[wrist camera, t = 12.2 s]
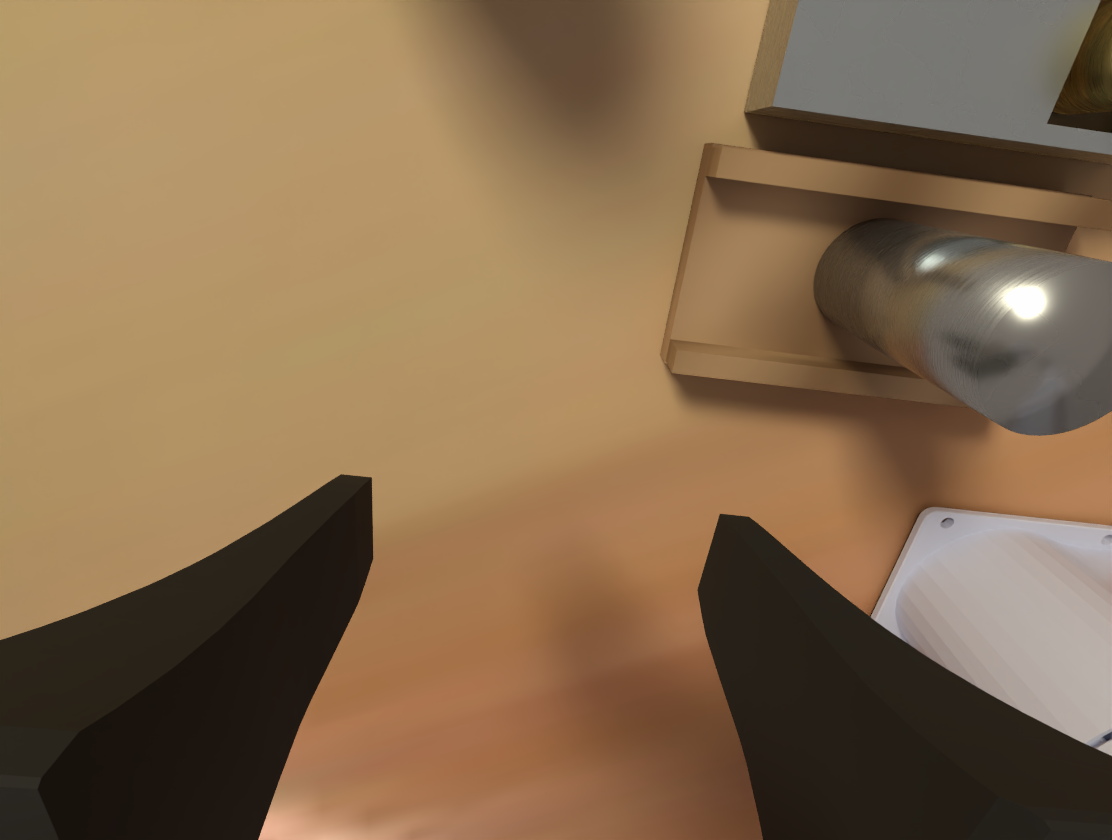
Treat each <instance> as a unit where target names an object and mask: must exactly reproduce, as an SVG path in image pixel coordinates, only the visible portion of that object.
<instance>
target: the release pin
mask: <svg viewBox="0 0 1112 840" xmlns="http://www.w3.org/2000/svg"><path fill="white" fill-rule="evenodd" d="M1108 111H1112V0H1105V1H1101V2H1100V3H1099V5H1098V8H1097V10H1096V12H1095V15H1094V17H1093V19H1092V21H1091V24H1090V26H1089V28H1088V31H1087V33H1086V35H1085V37H1084V40H1083V42H1082V44H1081V47H1080V49H1079V51H1078V53H1077V56H1076V58H1075V60H1074V63H1073V65H1072V67H1071V69H1070V72H1069V74H1068V76H1067V79H1066V81H1065V83H1064V85H1063V88H1062V90H1061V92H1060V95H1059V97H1058V99H1057V101H1056V104H1055V106H1054V108H1053V112H1055V113H1059V114H1067V115H1068V114H1081V113H1094V112H1108Z"/></svg>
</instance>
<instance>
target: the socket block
mask: <svg viewBox="0 0 1112 840" xmlns="http://www.w3.org/2000/svg"><path fill="white" fill-rule="evenodd" d="M1100 1H1101V0H770V3H769V8H768V12H767V16H766V21H765V25H764V29H763V34H762V38H761V42H760V46H759V51H758V55H757V59H756V64H755V68H754V72H753V76H752V81H751V85H750V89H749V94H748V98H747V102H746V106H745V111H744V112H746V113H753V114H760V115H767V116H774V117H781V118H788V119H795V120H802V121H809V122H816V123H823V124H830V125H837V126H844V127H851V128H859V129H866V130H873V131H880V132H887V133H894V134H901V135H908V136H915V137H922V138H929V139H936V140H943V141H950V142H957V143H964V144H971V145H978V146H985V147H992V148H999V149H1006V150H1013V151H1020V152H1027V153H1034V154H1041V155H1048V156H1055V157H1062V158H1069V159H1076V160H1084V161H1091V162H1098V163H1105V164H1112V131H1111V133H1107V132H1100V131H1093V130H1086V129H1079V128H1072V127H1066V126H1059V125H1052V124H1047V122H1048V120H1049V118H1050V115H1051V113H1052V111H1053V108H1054V106H1055V104H1056V101H1057V99H1058V97H1059V95H1060V92H1061V90H1062V88H1063V85H1064V83H1065V81H1066V79H1067V76H1068V74H1069V72H1070V69H1071V67H1072V65H1073V63H1074V60H1075V58H1076V56H1077V53H1078V51H1079V49H1080V47H1081V44H1082V42H1083V40H1084V37H1085V35H1086V33H1087V31H1088V28H1089V26H1090V24H1091V21H1092V19H1093V17H1094V15H1095V12H1096V10H1097V8H1098V5H1099V3H1100Z"/></svg>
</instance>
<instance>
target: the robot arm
mask: <svg viewBox="0 0 1112 840" xmlns="http://www.w3.org/2000/svg"><path fill="white" fill-rule="evenodd" d="M946 518H947V519H946ZM944 519H946V520H945V521H944V522H942V521H943V520H944ZM372 561H373V523H372V478H371V477H361V476H351V475H342V474H341V475H340V476H338V477H336V478H335V479H333V480H331V481H330V482H328V483H327V484H325V485H324V486H322V487H321V488H319V489H318V490H316V491H315V492H313V493H312V494H310V495H309V496H307V497H306V498H304V499H303V500H301V501H300V502H298V503H297V504H295V505H294V506H292V507H290V508H289V509H287V510H286V511H284V512H283V513H281V514H280V515H278V516H276V517H275V518H273V519H272V520H270V521H269V522H267V523H265V524H264V525H262V526H260V527H259V528H257V529H255V530H254V531H252V532H250V533H248V534H247V535H245V536H243V537H242V538H240V539H238V540H236V541H235V542H233V543H231V544H230V545H228V546H226V547H224V548H223V549H221V550H219V551H217V552H216V553H214V554H212V555H210V556H208V557H206V558H204V559H202V560H200V561H198V562H196V563H194V564H193V565H191V566H188V567H186V568H184V569H182V570H180V571H178V572H176V573H174V574H172V575H170V576H168V577H165V578H163V579H161V580H159V581H157V582H155V583H152V584H150V585H148V586H146V587H143V588H141V589H138V590H136V591H133V592H131V593H128V594H126V595H123V596H121V597H119V598H116V599H114V600H111V601H109V602H106V603H104V604H101V605H99V606H97V607H94V608H92V609H89V610H87V611H84V612H81V613H79V614H76V615H73V616H70V617H68V618H65V619H62V620H59V621H56V622H54V623H51V624H48V625H45V626H42V627H39V628H36V629H33V630H30V631H27V632H24V633H21V634H18V635H15V636H12V637H9V638H6V639H3V640H0V840H258V838H259V836H260V833H261V830H262V827H263V824H264V821H265V819H266V816H267V813H268V810H269V807H270V805H271V802H272V799H273V796H274V793H275V790H276V788H277V785H278V782H279V779H280V777H281V774H282V771H283V769H284V766H285V763H286V761H287V758H288V755H289V753H290V750H291V747H292V745H293V742H294V739H295V736H296V734H297V731H298V729H299V726H300V724H301V721H302V719H303V717H304V715H305V712H306V710H307V708H308V706H309V703H310V701H311V699H312V697H313V695H314V693H315V691H316V689H317V687H318V685H319V683H320V681H321V679H322V677H323V675H324V673H325V671H326V669H327V666H328V664H329V662H330V660H331V658H332V656H333V654H334V652H335V650H336V648H337V646H338V644H339V642H340V640H341V638H342V636H343V634H344V632H345V630H346V628H347V626H348V623H349V621H350V619H351V617H352V615H353V613H354V611H355V609H356V607H357V605H358V602H359V600H360V597H361V594H362V591H363V588H364V585H365V582H366V579H367V576H368V573H369V570H370V567H371V564H372ZM698 595H699V601H700V607H701V613H702V618H703V623H704V628H705V633H706V637H707V640H708V644H709V647H710V650H711V653H712V656H713V659H714V662H715V665H716V669H717V672H718V675H719V678H720V681H721V684H722V687H723V690H724V693H725V696H726V699H727V702H728V705H729V708H730V711H731V714H732V717H733V720H734V723H735V726H736V729H737V732H738V735H739V738H740V742H741V745H742V749H743V752H744V756H745V759H746V763H747V767H748V771H749V776H750V780H751V785H752V789H753V794H754V798H755V802H756V807H757V811H758V816H759V821H760V826H761V831H762V836H763V840H1112V526H1110V525H1101V524H1091V523H1082V522H1073V521H1063V520H1054V519H1045V518H1035V517H1026V516H1017V515H1007V514H998V513H988V512H979V511H970V510H960V509H951V508H942V507H930V508H927V509H925V510H923V511H922V512H921V513H920V515H919V517H918V519H917V521H916V523H915V525H914V527H913V529H912V531H911V533H910V535H909V538H908V540H907V542H906V544H905V546H904V548H903V550H902V552H901V554H900V556H899V558H898V561H897V563H896V565H895V567H894V569H893V571H892V573H891V575H890V577H889V579H888V582H887V584H886V586H885V588H884V590H883V592H882V594H881V596H880V598H879V600H878V603H877V605H876V607H875V609H874V611H873V613H872V615H871V617H869V616H868V615H867V614H866V613H864V612H863V611H862V610H860V609H859V608H858V607H856V606H855V605H854V604H853V603H851V602H850V601H849V600H847V599H846V598H845V597H844V596H842V595H841V594H840V593H839V592H837V591H836V590H835V589H834V588H832V587H831V586H830V585H829V584H828V583H826V582H825V581H824V580H823V579H822V578H820V577H819V576H818V575H817V574H816V573H815V572H813V571H812V570H811V569H810V568H809V567H807V566H806V565H805V564H804V563H803V562H802V561H801V560H799V559H798V558H797V557H796V556H795V555H794V554H793V553H791V552H790V551H789V550H788V549H787V548H786V547H785V546H783V545H782V544H781V543H780V542H779V541H778V540H777V539H775V538H774V537H773V536H772V535H771V534H770V533H768V532H767V531H766V530H765V529H764V528H762V527H761V526H760V525H759V524H758V523H756V522H755V521H754V520H752V519H751V518H750V517H745V516H736V515H726V514H720V516H719V519H718V523H717V526H716V529H715V533H714V536H713V539H712V543H711V546H710V550H709V553H708V556H707V560H706V563H705V567H704V570H703V573H702V577H701V580H700V583H699V587H698Z"/></svg>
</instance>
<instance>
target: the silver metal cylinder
mask: <svg viewBox="0 0 1112 840" xmlns="http://www.w3.org/2000/svg"><path fill="white" fill-rule="evenodd" d="M813 291H814V298H815V301H816V304H817V306H818V308H819V310H820V311H821V313H822V314H823V315H824V316H825V317H826V318H827V319H828V320H829V321H831V322H832V323H833V324H835V325H837V326H838V327H840V328H842V329H843V330H845V331H847V332H848V333H850V334H851V335H853V336H855V337H856V338H858V339H860V340H861V341H863V342H865V343H866V344H868V345H869V346H871V347H873V348H874V349H876V350H878V351H879V352H881V353H883V354H884V355H886V356H887V357H889V358H891V359H892V360H894V361H896V362H897V363H899V364H901V365H902V366H904V367H906V368H907V369H909V370H910V371H912V372H914V373H915V374H917V375H919V376H920V377H922V378H924V379H925V380H927V381H928V382H930V383H932V384H933V385H935V386H937V387H938V388H940V389H942V390H943V391H945V392H946V393H948V394H950V395H951V396H953V397H955V398H956V399H958V400H960V401H961V402H963V403H964V404H966V405H968V406H969V407H971V408H973V409H974V410H976V411H978V412H979V413H981V414H982V415H984V416H986V417H987V418H989V419H991V420H992V421H994V422H996V423H997V424H999V425H1001V426H1002V427H1004V428H1006V429H1008V430H1010V431H1013V432H1016V433H1020V434H1026V435H1038V436H1041V435H1053V434H1058V433H1063V432H1067V431H1071V430H1074V429H1077V428H1079V427H1082V426H1085V425H1087V424H1089V423H1091V422H1093V421H1095V420H1097V419H1099V418H1101V417H1102V416H1104V415H1106V414H1107V413H1109V412H1111V411H1112V262H1109V261H1104V260H1099V259H1094V258H1089V257H1083V256H1078V255H1073V254H1068V253H1063V252H1058V251H1053V250H1048V249H1043V248H1038V247H1033V246H1028V245H1022V244H1017V243H1012V242H1007V241H1002V240H997V239H992V238H987V237H982V236H977V235H972V234H967V233H961V232H956V231H951V230H946V229H941V228H936V227H931V226H926V225H921V224H916V223H911V222H906V221H901V220H895V219H890V218H875V219H870V220H866V221H863V222H860V223H858V224H856V225H853V226H851V227H850V228H848V229H847V230H845V231H844V232H842V233H841V234H840V235H839V236H838V237H837V238H835V239H834V240H833V241H832V243H831V244H830V245H829V246H828V247H827V249H826V250H825V252H824V253H823V255H822V257H821V259H820V261H819V263H818V265H817V268H816V271H815V275H814V283H813Z"/></svg>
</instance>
